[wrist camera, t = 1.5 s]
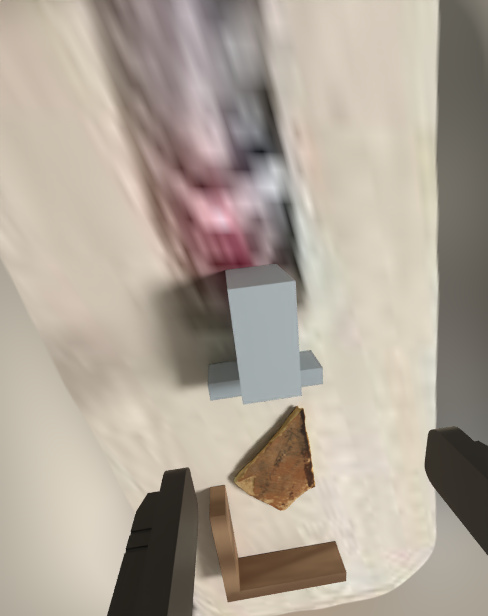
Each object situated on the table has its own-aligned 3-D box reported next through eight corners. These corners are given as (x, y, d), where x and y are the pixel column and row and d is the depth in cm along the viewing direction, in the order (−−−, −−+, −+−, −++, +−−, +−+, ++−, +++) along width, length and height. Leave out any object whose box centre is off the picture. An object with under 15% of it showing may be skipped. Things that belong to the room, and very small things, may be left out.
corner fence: (210, 487, 29) (209, 517, 26) (334, 467, 29) (346, 494, 27) (227, 568, 33) (227, 602, 30) (335, 549, 34) (346, 580, 31)
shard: (298, 398, 27) (303, 410, 25) (353, 433, 29) (362, 447, 27) (230, 472, 29) (231, 488, 27) (286, 500, 31) (290, 516, 29)
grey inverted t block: (193, 274, 22) (184, 295, 16) (306, 259, 22) (337, 275, 17) (211, 379, 25) (209, 428, 19) (311, 364, 25) (337, 408, 20)
